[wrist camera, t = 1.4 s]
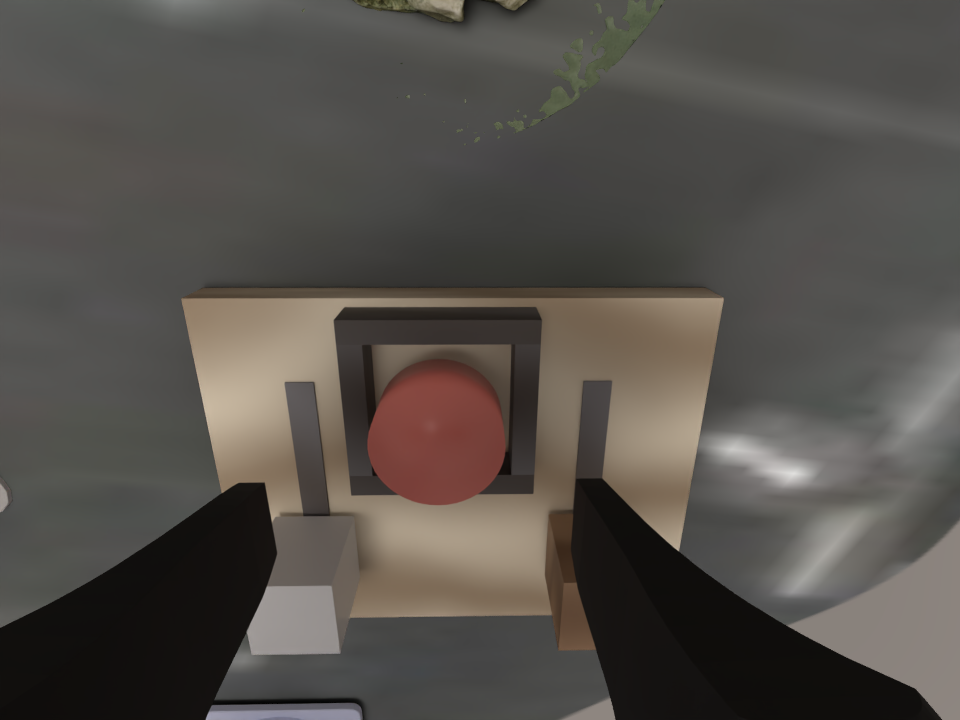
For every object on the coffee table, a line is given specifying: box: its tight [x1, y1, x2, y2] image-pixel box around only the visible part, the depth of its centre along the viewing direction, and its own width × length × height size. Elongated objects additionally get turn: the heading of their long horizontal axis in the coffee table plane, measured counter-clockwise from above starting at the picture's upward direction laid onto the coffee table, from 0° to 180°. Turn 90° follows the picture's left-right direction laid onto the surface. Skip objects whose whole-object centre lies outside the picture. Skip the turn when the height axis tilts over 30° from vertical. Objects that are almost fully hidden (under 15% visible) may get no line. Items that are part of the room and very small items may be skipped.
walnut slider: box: [545, 514, 596, 650], centre depth 19 cm, size 3×3×4 cm
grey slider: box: [247, 516, 360, 655], centre depth 19 cm, size 3×3×4 cm
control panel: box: [181, 288, 724, 618], centre depth 20 cm, size 14×18×3 cm
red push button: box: [368, 359, 506, 505], centre depth 16 cm, size 4×4×2 cm
